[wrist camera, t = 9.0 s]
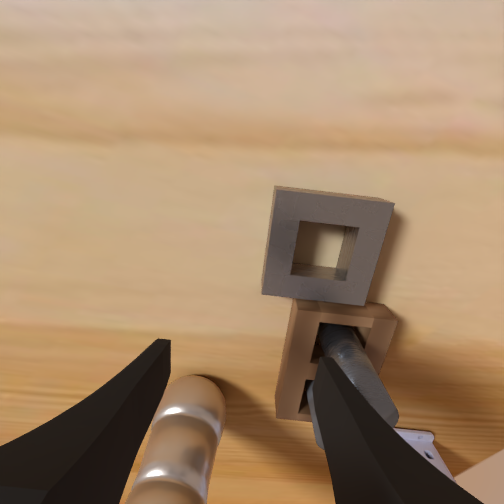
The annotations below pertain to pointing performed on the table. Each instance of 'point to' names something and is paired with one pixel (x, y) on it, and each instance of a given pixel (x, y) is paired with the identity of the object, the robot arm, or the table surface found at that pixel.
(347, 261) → the socket block
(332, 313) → the rack
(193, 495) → the plastic bottle
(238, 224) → the table surface
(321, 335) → the shiny steel cylinder
